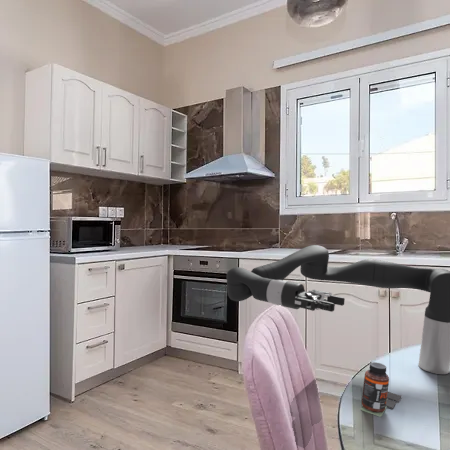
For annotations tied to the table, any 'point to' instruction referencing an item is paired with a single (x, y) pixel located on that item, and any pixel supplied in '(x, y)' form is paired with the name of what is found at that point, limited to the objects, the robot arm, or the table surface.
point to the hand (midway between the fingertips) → (339, 304)
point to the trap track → (390, 403)
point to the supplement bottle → (375, 388)
